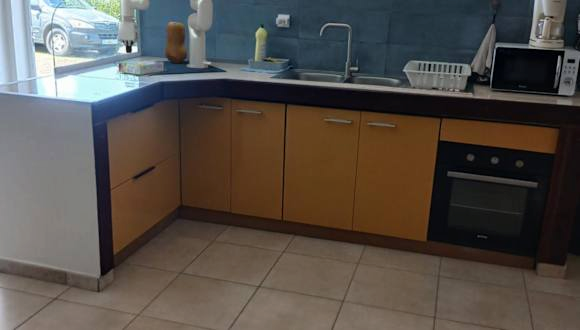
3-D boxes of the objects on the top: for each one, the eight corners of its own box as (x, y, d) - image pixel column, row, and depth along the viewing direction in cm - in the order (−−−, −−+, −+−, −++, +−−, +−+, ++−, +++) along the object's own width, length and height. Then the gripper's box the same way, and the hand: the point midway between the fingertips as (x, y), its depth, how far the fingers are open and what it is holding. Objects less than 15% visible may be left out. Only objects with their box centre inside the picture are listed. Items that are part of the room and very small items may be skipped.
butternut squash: (190, 62, 380) (189, 21, 372) (183, 65, 367) (183, 23, 360) (168, 60, 382) (168, 20, 374) (161, 63, 369) (160, 22, 361)
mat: (167, 70, 346) (167, 69, 346) (148, 76, 324) (148, 75, 323) (145, 68, 349) (145, 67, 349) (124, 74, 327) (124, 73, 327)
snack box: (118, 72, 328) (140, 75, 322) (117, 62, 327) (140, 64, 321) (142, 68, 347) (164, 71, 341) (142, 58, 345) (164, 61, 339)
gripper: (143, 19, 332) (144, 53, 337) (118, 18, 335) (120, 51, 341) (136, 20, 325) (137, 54, 330) (111, 18, 328) (113, 52, 334)
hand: (128, 52), depth 336 cm, fingers closed
